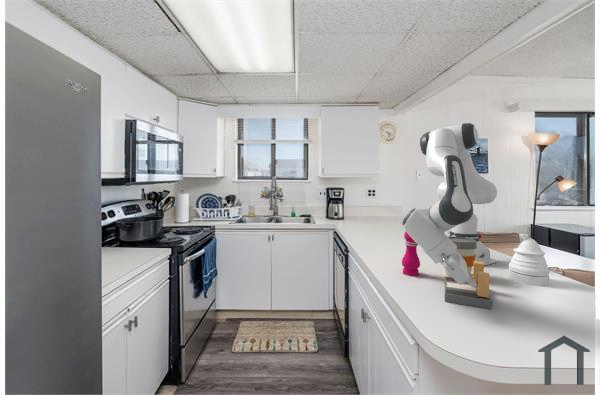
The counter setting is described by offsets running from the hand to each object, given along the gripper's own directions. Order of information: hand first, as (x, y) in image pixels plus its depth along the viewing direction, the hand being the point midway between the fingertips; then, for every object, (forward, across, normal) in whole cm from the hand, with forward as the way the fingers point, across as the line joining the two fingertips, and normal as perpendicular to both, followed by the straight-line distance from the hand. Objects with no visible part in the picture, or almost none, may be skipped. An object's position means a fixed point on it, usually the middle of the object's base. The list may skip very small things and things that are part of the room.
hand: (475, 285), depth 97 cm
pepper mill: (-11, +23, +20) cm, 32 cm away
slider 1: (+3, +14, +1) cm, 14 cm away
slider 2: (+4, 0, 0) cm, 4 cm away
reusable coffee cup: (+2, +29, +7) cm, 30 cm away
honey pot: (+19, +36, -11) cm, 42 cm away
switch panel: (+3, +7, +6) cm, 9 cm away
